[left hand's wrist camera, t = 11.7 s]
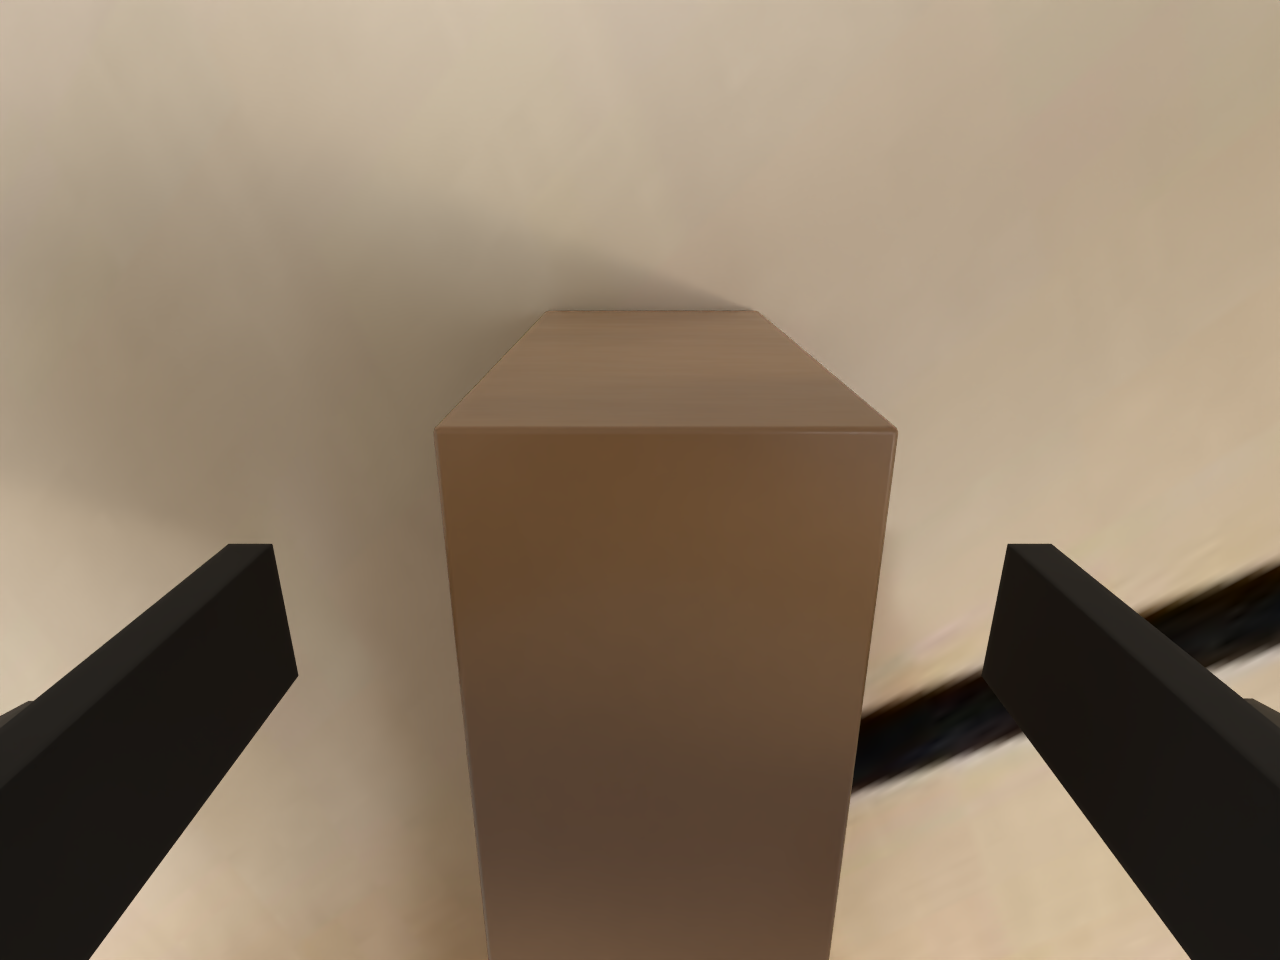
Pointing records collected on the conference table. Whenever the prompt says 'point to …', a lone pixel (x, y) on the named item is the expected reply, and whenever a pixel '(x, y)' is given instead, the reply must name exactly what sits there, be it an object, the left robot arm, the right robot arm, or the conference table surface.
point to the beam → (662, 633)
